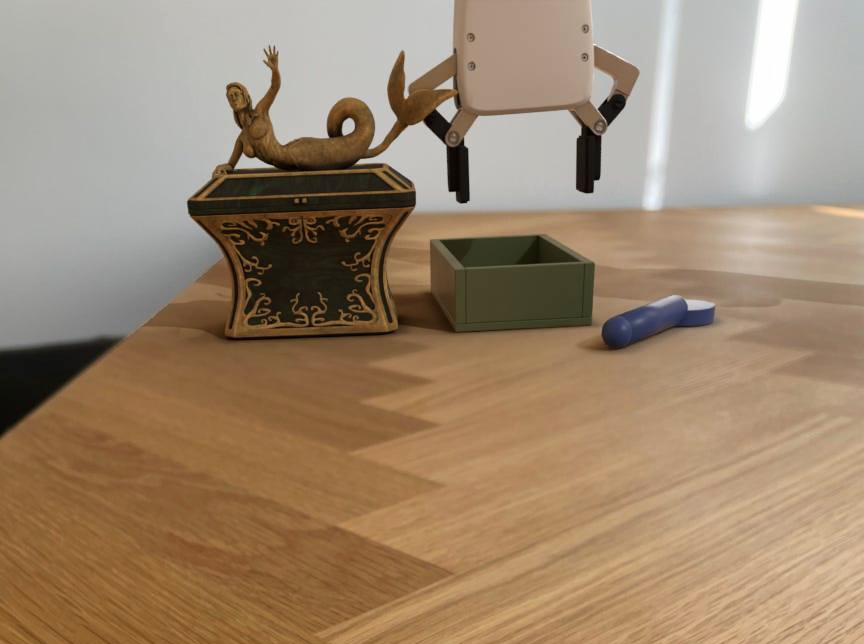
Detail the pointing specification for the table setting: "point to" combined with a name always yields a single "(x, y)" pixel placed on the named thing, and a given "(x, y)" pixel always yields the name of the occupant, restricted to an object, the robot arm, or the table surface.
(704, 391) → the table surface
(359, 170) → the decorative box
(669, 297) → the blue spoon
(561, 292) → the bin
